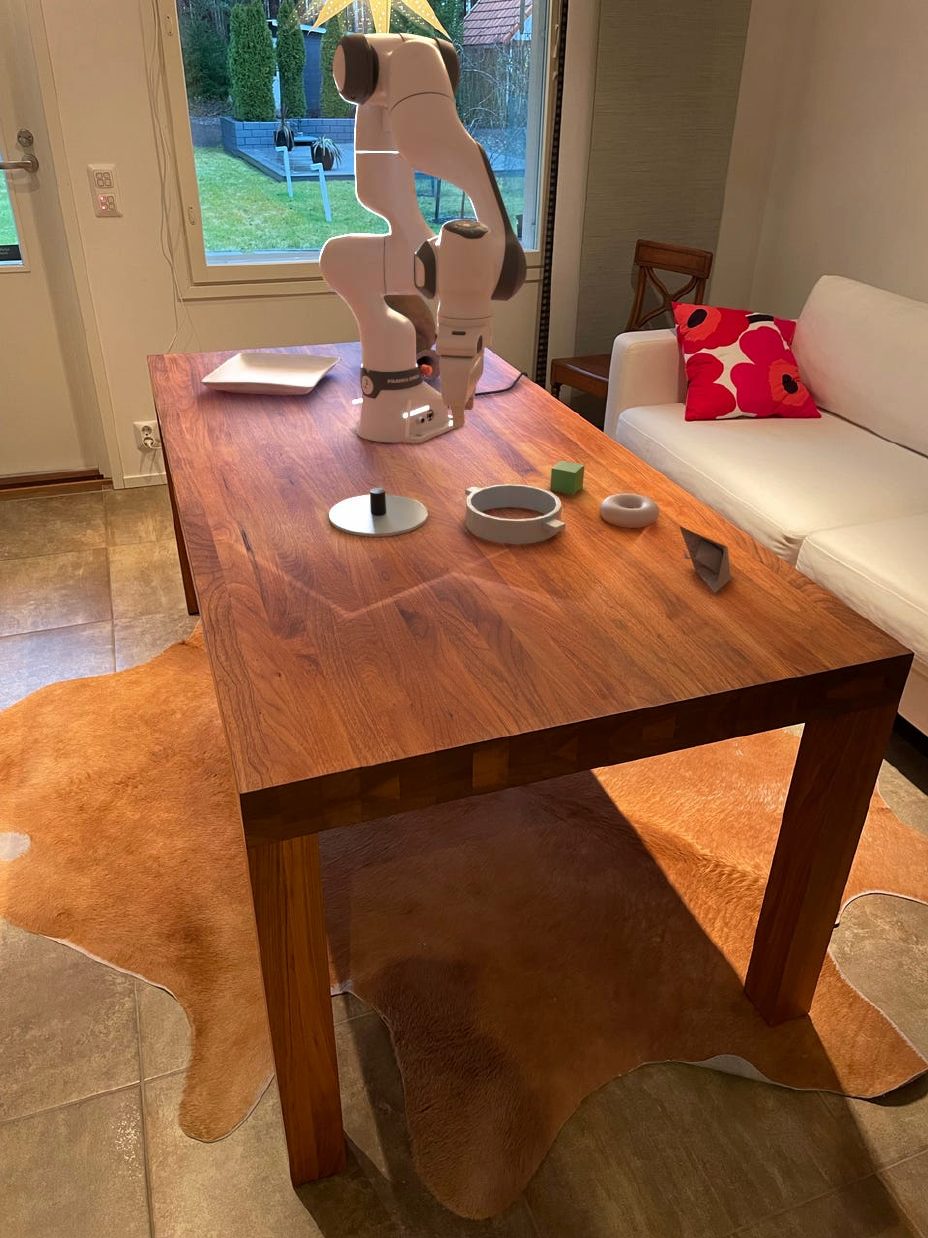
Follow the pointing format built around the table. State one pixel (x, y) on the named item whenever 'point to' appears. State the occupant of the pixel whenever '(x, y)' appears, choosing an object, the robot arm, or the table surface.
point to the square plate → (270, 373)
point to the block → (567, 477)
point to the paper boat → (708, 559)
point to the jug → (419, 328)
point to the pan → (513, 528)
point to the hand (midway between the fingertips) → (463, 417)
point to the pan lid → (378, 514)
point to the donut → (629, 510)
